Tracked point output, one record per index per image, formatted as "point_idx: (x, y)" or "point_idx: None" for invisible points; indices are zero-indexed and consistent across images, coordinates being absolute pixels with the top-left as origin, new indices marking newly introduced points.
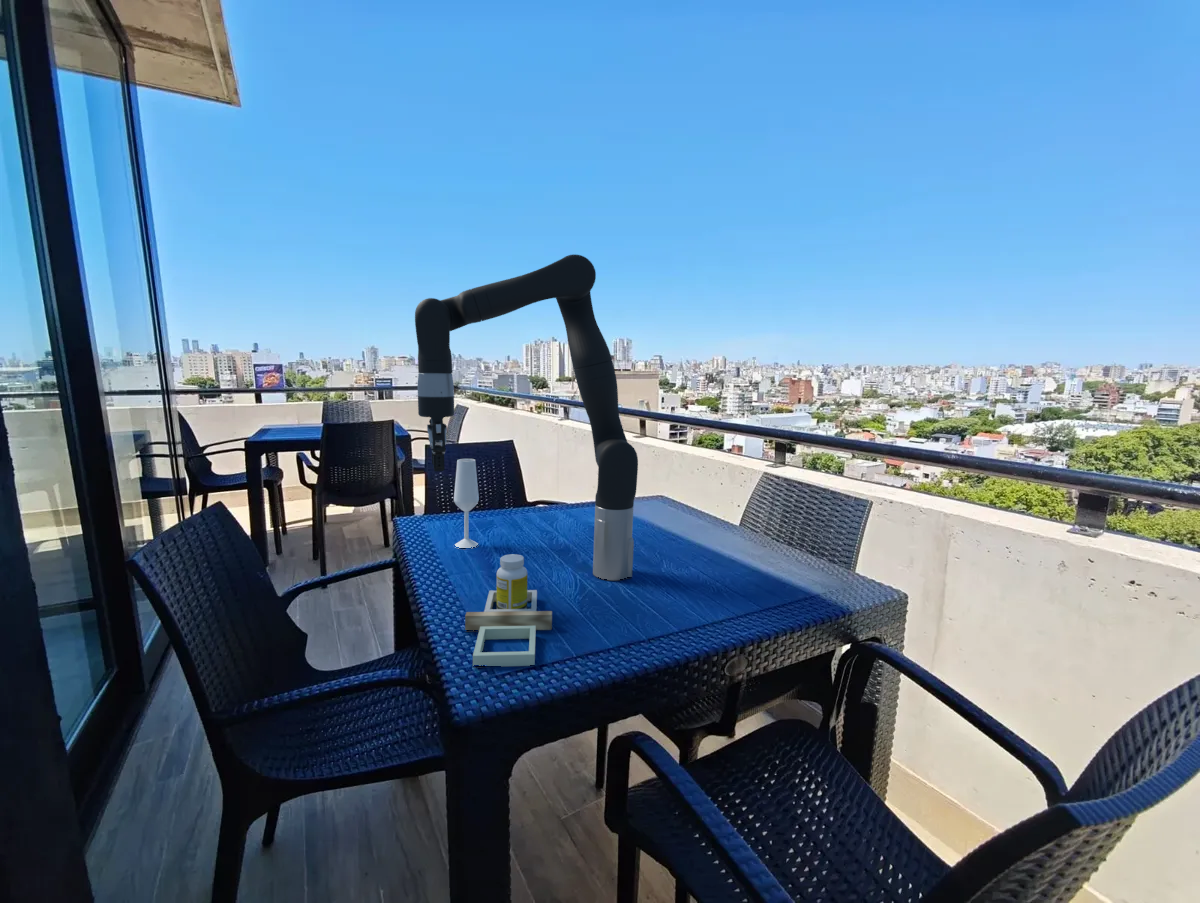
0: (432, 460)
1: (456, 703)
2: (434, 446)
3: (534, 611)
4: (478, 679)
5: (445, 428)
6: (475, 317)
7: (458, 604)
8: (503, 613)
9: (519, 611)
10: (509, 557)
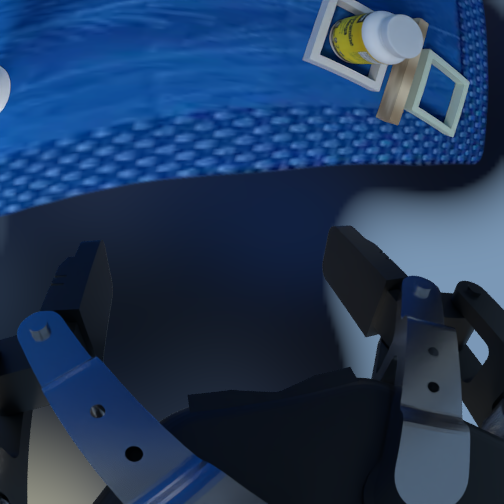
0: (110, 306)
1: (471, 160)
2: (467, 353)
3: None
4: (458, 135)
5: (461, 458)
6: None
7: (303, 111)
8: (409, 75)
9: None
10: (401, 38)
